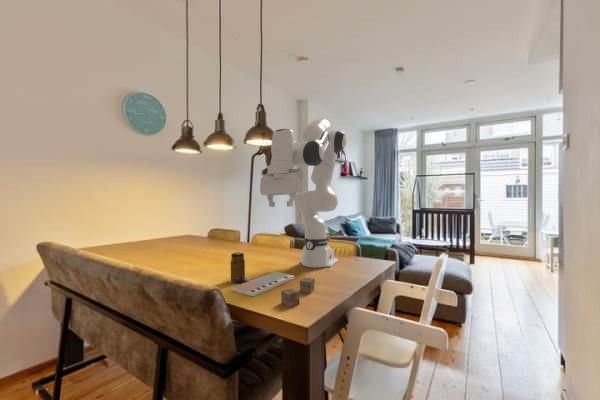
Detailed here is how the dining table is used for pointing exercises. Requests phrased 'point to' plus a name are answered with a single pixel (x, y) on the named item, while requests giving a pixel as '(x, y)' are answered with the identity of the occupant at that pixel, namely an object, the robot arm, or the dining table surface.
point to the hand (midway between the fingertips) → (280, 206)
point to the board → (262, 283)
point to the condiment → (238, 269)
